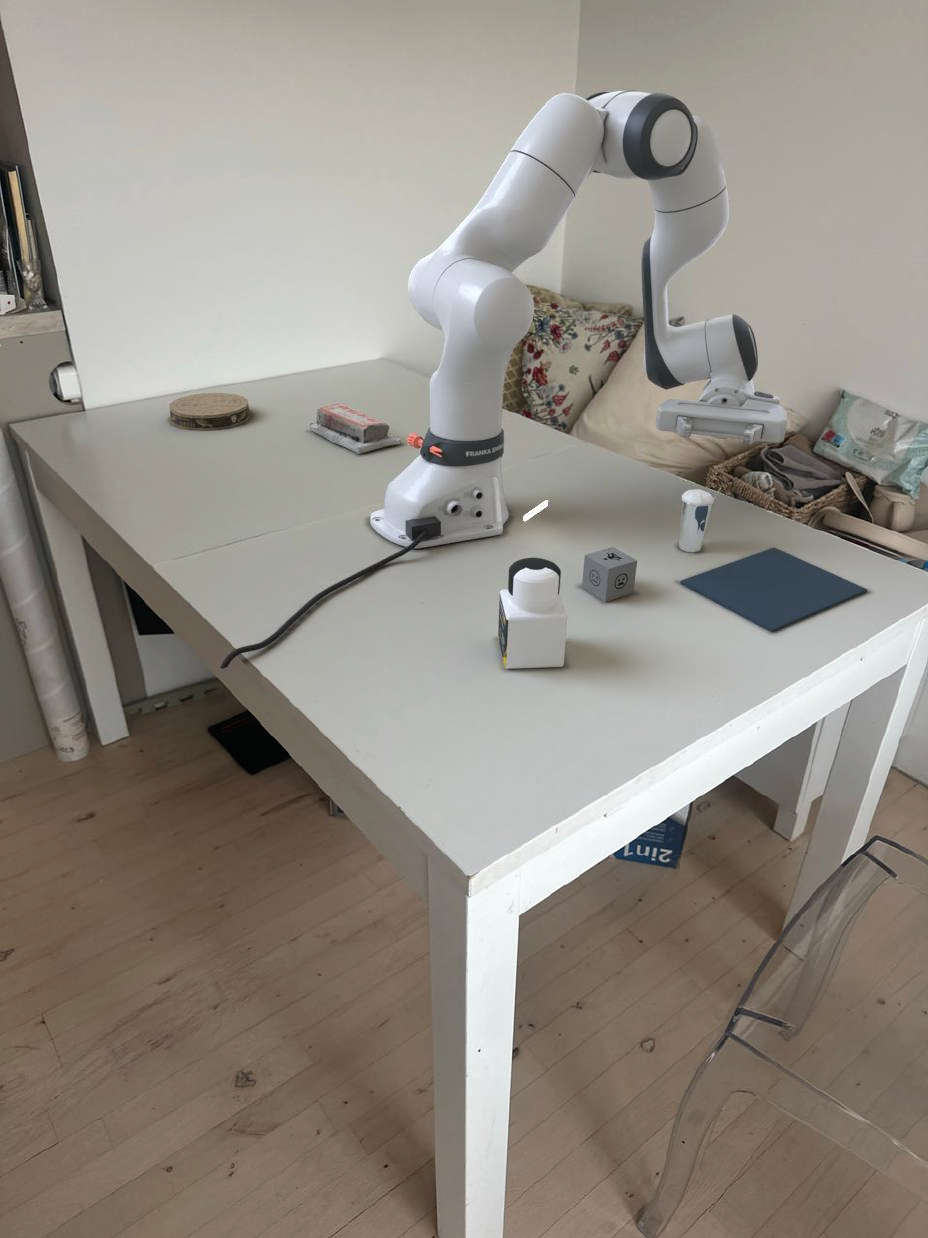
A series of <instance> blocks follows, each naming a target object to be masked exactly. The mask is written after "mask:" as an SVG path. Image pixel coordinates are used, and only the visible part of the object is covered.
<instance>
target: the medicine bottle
mask: <svg viewBox="0 0 928 1238" xmlns="http://www.w3.org/2000/svg"><path fill="white" fill-rule="evenodd" d="M561 575H562V570H561V568H560V566H558V565H557V564H556V563H555V562H553V561H551V560H550V559H549V560H548V559H546V558H540V557H525V558H520V559H518V560H516V561H514V562H513V563H512V564H511V565H510V566H509V567H508V581H507V582H508V583H507V589H505V588H503V589H501V590H500V591H499V601H498V603H499V604H498V630H497V631H498V632H497V640H498V644H499V648H500V652H501V658H502V661H503V666H504V669H506V670H510V669H512V670H513V669H541V668H542V669H543V668H562V667H564V665H565V655H566V654H565V652H566V643H567V631H568V630H567V629H568V617H569V616H568V614H567V611H566V609H565V606H564V603H563V600H562V597H561V595H560V591H561Z"/></svg>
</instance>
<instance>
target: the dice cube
mask: <svg viewBox="0 0 928 1238" xmlns="http://www.w3.org/2000/svg"><path fill="white" fill-rule="evenodd" d="M637 567H638V559H636V558H634V557H632V556H630V555H628V554H627V553H625V552H624V551H622V550H620V549H619V548H616V547H614V546H609V547H607V548H603V549H600V550H597V551H593V552H589V553H585V554H584V560H583V569H582V571H583V572H582V579H581V580H582V582H581V588H582V589H584V590H585V591H587V592H589V593H590V594H591V595H593V596H594V597H596V598H598V599H600V600H601V601H602V602H604V603H608V602H611V601H614V600H617V599H620V598H623V597H626V596H629V595H633V594H634V592H635V591H634V590H635V585H636V583H635V582H636V575H637Z"/></svg>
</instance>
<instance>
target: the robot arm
mask: <svg viewBox="0 0 928 1238" xmlns="http://www.w3.org/2000/svg"><path fill="white" fill-rule="evenodd" d="M592 173H595V174H603V175H607V176H612V177H615V178H617V179H622V180H623V179H624V180H641V179H642V180H645V181H647V183H648V185H649V190H650V197H651V201H652V207H653V211H654V226H653V227H654V228H653V231H652V233H651V236H649V237H648V239H646V240H645V241H644V243H643V247H642V253H641V262H640V263H641V266H640V267H641V292H642V296H641V297H642V309H643V310H642V312H643V313H642V314H643V328H644V329H643V330H644V331H643V332H644V347H643V348H644V349H643V367H644V372H645V374H646V376H647V380H648V381H650V383H652V384H654V385H655V386H656V387H658V388H660V389H663V390H666V391H667V390H670V389H674V388H677V387H681V386H684V385H686V384H690V383H695V382H699V381H704V380H707V381H706V383H705V385H704V387H703V390H702V392H701V395H700V397H699V400H691V399H681V398H669V399H667V400H665V401H664V402H662V403H661V404H660V405H659V407H658V408H657V411H656V417H655V428H656V429H657V430H659V431H662V432H669V433H678V434H680V438H689V439H690V438H691V435H696V436H697V435H698V436H706V437H712V438H715V439H721V440H725V439H734V440H742V444H744V445H753V443H754V442H755V443H756V442H763V443H772V444H780V443H783V442H784V440H785V436H786V432H787V426H788V415H787V412H786V409H785V408H784V407H783V406H782V405H781V397H780V396H777V395H774V394H769V393H765V392H761V391H757V390H755V385H754V384H755V383H754V381H753V379H754V377H755V375H756V373H757V371H758V367H759V356H758V355H759V354H758V346H757V340H756V337H755V334H754V331H753V328H752V326H751V325H750V324H749V323H748V322H747V321H746V320H745V319H743V317H741V316H739V315H738V314H736V313H735V314H734V313H733V314H728V315H723V316H718V317H714V318H710V319H706V320H704V321H699V322H694V323H690V324H686V325H682V326H681V325H680V326H674V325H673V326H672V325H670V324H669V304H668V302H669V301H668V285H669V282H670V281H671V279H673V277H675V276H676V274H678V273H679V272H680V271H681V270H683V269H684V268H686V267H687V266H688V265H689V264H691V263H692V262H694V261H696V260H697V259H699V258H700V257H702V256H703V255H704V254H706V253H707V252H708V251H709V250H710V249H712V248H713V247H714V246H715V244H717V242H718V241H719V240H720V238H721V237H722V236H723V234H724V232H725V230H726V228H727V226H728V224H729V219H730V203H729V201H730V200H729V191H728V186H727V180H726V175H725V171H724V165H723V162H722V158H721V155H720V151H719V148H718V146H717V143H716V140H715V138H714V135H713V132H712V130H711V128H710V126H709V124H708V123H707V121H706V120H705V119H703V118H702V117H699V116H697V115H693V114H692V113H691V111H690V109H689V107H688V106H687V105H686V104H685V103H684V102H683V101H681V100H680V99H679V98H677V97H675V96H672V95H670V94H667V93H664V92H653V93H650V92H645V91H639V90H635V89H629V90H628V89H627V90H616V91H611V92H610V91H609V92H608V91H602V92H597V93H594V94H591V95H589V96H587V97H585V98H584V97H582V96H580V95H577V94H575V93H569V92H568V93H567V92H565V93H564V92H563V93H559V94H556V95H554V96H552V97H551V98H550V99H549V100H547V102H546V103H545V104H544V105H543V106H542V107H541V109H539V111H538V112H537V113H536V114H535V115H534V116H533V118H532V119H531V120H530V121H529V123H528V125H526V127H525V129H523V131H522V133H521V134H520V135H519V137H518V139H517V140H515V143H514V144H513V146H512V148H511V149H510V151H509V152H508V154H507V156H506V157H505V160H504V161H503V162H502V164H501V166H500V168H499V169H498V171H497V173H496V174H495V176H494V177H493V179H492V180H491V182H490V184H489V185H488V187H487V189H486V190H485V192H484V194H483V195H482V197H481V198H480V199H479V201H478V203H477V204H476V205H475V206H474V208H473V209H472V210H471V212H470V213H468V215H467V216H466V217H465V218H464V219H463V220H462V221H461V223H460V224H459V225H458V226H457V227H456V228H455V229H454V230H453V232H451V234H450V235H449V236H448V237H447V238H446V239H445V240H444V241H443V242H442V243H441V244H440V245H439V246H438V247H437V248H436V249H435V250H433V252H431V253H429V254H427V255H426V256H424V257H422V258H421V259H420V260H419V261H417V263H416V264H415V265H414V266H413V268H412V270H411V272H410V274H409V277H408V280H407V281H408V282H407V294H408V298H409V302H410V303H411V305H412V307H413V309H414V310H415V312H416V313H417V314H418V315H419V316H420V317H421V318H422V319H423V321H425V323H426V324H428V325H430V326H431V327H434V328H435V329H437V330H440V331H442V332H443V334H444V335H443V336H444V343H443V344H444V345H443V351H442V355H441V358H440V362H439V366H438V369H437V370H435V371H434V372H433V374H432V375H431V377H430V380H429V427H428V428H427V430H426V434H425V435H424V437H423V436H421V435H419V434H417V433H416V432H411V433H409V435H408V436H407V439H406V441H407V442H406V443H407V444H408V445H409V446H411V447H413V448H414V449H420V450H419V455H418V456H417V457H416V458H415V459H414V460H413V461H411V463H410V464H408V465H407V467H405V469H404V470H402V471H401V472H400V473H399V474H398V475H397V476H395V478H394V479H393V480H392V481H390V482H389V484H388V485H387V488H386V491H385V495H384V502H383V508H381V509H378V510H376V511H373V512H371V514H370V517H369V518H370V520H369V522H370V526H371V527H372V528H373V530H374V531H375V532H376V533H377V534H379V535H380V536H382V537H383V538H385V539H386V540H388V541H389V542H391V543H394V544H396V545H398V546H401V547H404V548H403V549H401V550H399V551H397V552H395V553H393V554H391V555H389V556H387V557H385V558H383V559H381V560H379V561H378V562H376V563H373V564H371V565H369V566H368V567H366V568H363V569H361V570H359V571H358V572H356V573H354V574H352V575H350V576H348V577H346V578H344V579H341V580H339V581H337V582H336V583H334V584H332V585H330V586H328V587H327V588H325V589H323V590H322V591H320V592H319V593H317V594H315V596H313V597H311V599H310V600H308V601H307V602H306V603H305V604H304V605H303V606H302V607H300V608H299V609H298V610H297V611H296V612H295V613H294V614H293V615H291V617H289V618H288V619H287V621H285V622H284V623H283V624H282V625H281V626H280V627H279V628H278V629H277V630H275V632H274V633H273V634H271V635H270V636H269V637H267V638H265V639H264V640H262V641H260V642H257V643H253V644H249V645H244V646H241V647H238V648H236V649H234V650H232V651H231V652H230V653H228V655H226V657H225V658H224V659H223V660H222V663H221V664H220V669H222V670H223V669H227V668H228V666H229V665H230V664H231V662H232V661H233V660H234V659H235V658H236V657H237V656H240V655H242V654H245V653H249V652H254V651H258V650H262V649H263V648H265V647H268V646H269V645H271V644H272V643H274V642H275V641H276V640H278V639H279V638H280V637H281V636H282V635H283V634H284V633H285V632H286V631H287V630H288V629H289V628H290V627H291V626H292V625H293V624H294V623H295V622H296V621H297V620H299V619H300V618H301V617H302V616H303V615H304V614H305V613H306V612H308V611H309V609H310V608H312V606H314V605H315V604H316V603H317V602H319V601H320V600H322V599H323V598H324V597H326V596H327V595H330V594H331V593H333V592H334V591H336V590H338V589H340V588H342V587H344V586H346V585H348V584H350V583H352V582H354V581H356V580H357V579H359V578H361V577H363V576H365V575H367V574H369V573H371V572H373V571H375V570H377V569H379V568H381V567H383V566H385V565H387V564H388V563H390V562H392V561H394V560H396V559H398V558H400V557H403V556H405V555H406V554H408V553H409V552H411V551H412V550H413V549H415V550H416V549H423V548H429V547H435V546H440V545H446V544H452V543H458V542H466V541H470V540H476V539H481V538H489V537H494V536H498V535H499V536H500V535H502V534H503V533H504V524H505V523H506V522H507V521H508V520H509V517H510V513H509V509H508V506H507V501H506V497H505V491H504V485H503V472H502V471H503V469H502V459H503V455H504V452H505V430H504V429H503V428H502V427H503V425H502V423H503V406H504V405H503V403H504V402H503V401H504V387H505V381H506V375H507V371H508V366H509V363H510V360H511V357H512V354H513V351H514V349H515V347H516V345H517V344H518V343H520V342H521V341H522V340H523V339H524V337H525V336H526V335H527V334H528V332H529V330H530V328H531V326H532V323H533V319H534V313H535V303H534V299H533V296H532V293H531V290H529V288H528V287H527V285H526V284H525V283H524V282H523V281H522V280H521V279H519V278H518V277H517V276H516V275H515V274H513V272H514V271H516V269H517V268H518V267H519V266H521V265H522V264H523V263H524V262H526V261H527V260H528V259H530V258H532V257H533V256H536V255H537V254H539V253H540V252H542V251H543V249H545V247H546V246H547V245H548V244H549V242H550V240H551V238H552V237H553V235H554V234H555V232H556V231H557V229H558V227H559V225H560V224H561V222H562V221H563V219H564V217H565V216H566V214H567V212H568V211H569V209H570V208H571V207H572V204H573V202H574V201H575V199H576V198H577V196H578V194H579V192H581V190H582V188H583V185H584V184H585V182H586V180H587V179H588V177H589V176H590V175H591V174H592ZM548 502H549V500H545V501H542V503H540V504H539V505H537V506H535V508H533V509H531V510H530V511H529V512H527V513H526V514H524V515H523V521H524V522H526V521H528V520H529V519H530V518H532V517H533V516H534V515H536V514H537V513H540V512H541V511H543V509H545V508H546V507H548V505H549V504H548Z"/></svg>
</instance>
